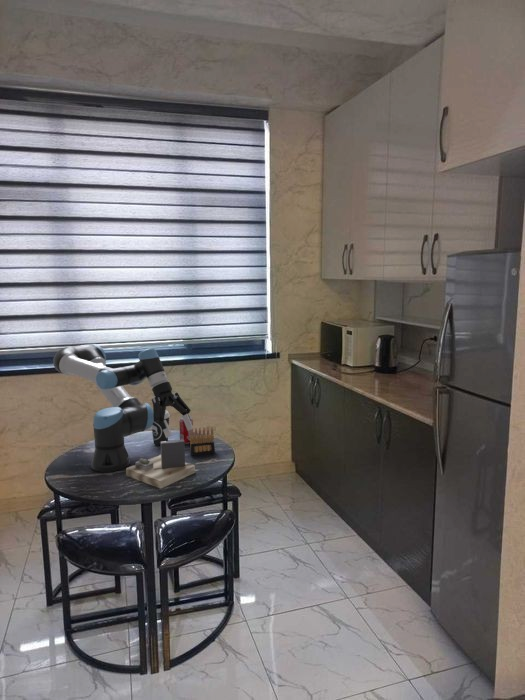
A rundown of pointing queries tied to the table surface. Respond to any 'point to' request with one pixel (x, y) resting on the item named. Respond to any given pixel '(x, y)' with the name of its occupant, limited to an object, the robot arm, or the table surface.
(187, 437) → the soda can
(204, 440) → the ammunition clip
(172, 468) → the instrument base
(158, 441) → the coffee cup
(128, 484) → the table surface
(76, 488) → the table surface
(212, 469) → the table surface
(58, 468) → the table surface
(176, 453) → the dark grey block
